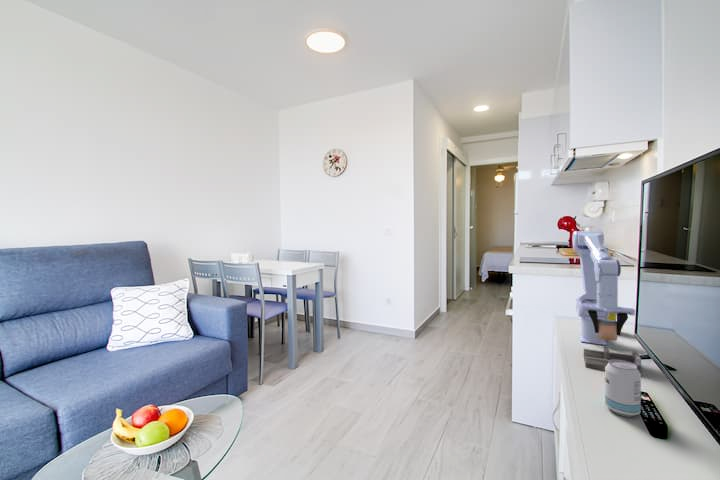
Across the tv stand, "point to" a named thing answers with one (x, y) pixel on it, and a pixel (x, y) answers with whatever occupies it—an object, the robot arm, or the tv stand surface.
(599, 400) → the tv stand surface
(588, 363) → the tray
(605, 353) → the pusher plate
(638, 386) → the beverage can
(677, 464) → the tv stand surface
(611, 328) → the jar
